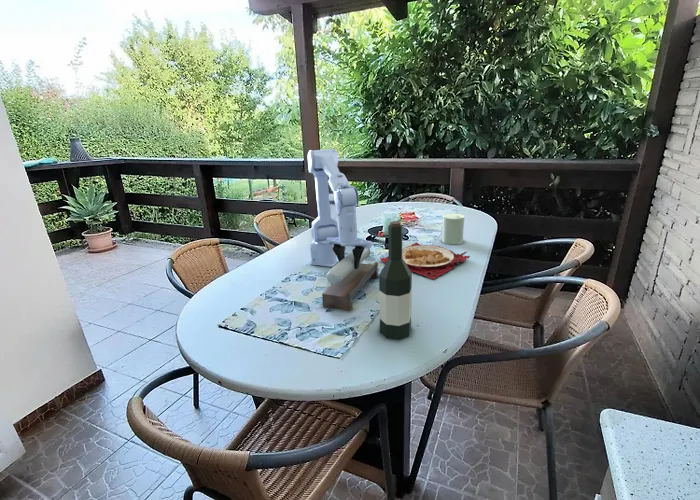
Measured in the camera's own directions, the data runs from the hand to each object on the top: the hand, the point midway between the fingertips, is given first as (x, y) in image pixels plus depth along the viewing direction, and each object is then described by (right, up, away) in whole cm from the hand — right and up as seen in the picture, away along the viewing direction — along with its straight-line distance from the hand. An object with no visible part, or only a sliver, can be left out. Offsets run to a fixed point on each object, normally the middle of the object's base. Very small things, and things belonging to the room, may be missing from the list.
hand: (349, 266), depth 118 cm
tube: (0, -1, 0) cm, 2 cm away
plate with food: (+29, +1, +24) cm, 38 cm away
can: (+46, +9, +45) cm, 65 cm away
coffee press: (-6, +9, +49) cm, 50 cm away
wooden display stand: (+1, -8, +3) cm, 8 cm away
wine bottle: (+12, -16, -21) cm, 29 cm away
